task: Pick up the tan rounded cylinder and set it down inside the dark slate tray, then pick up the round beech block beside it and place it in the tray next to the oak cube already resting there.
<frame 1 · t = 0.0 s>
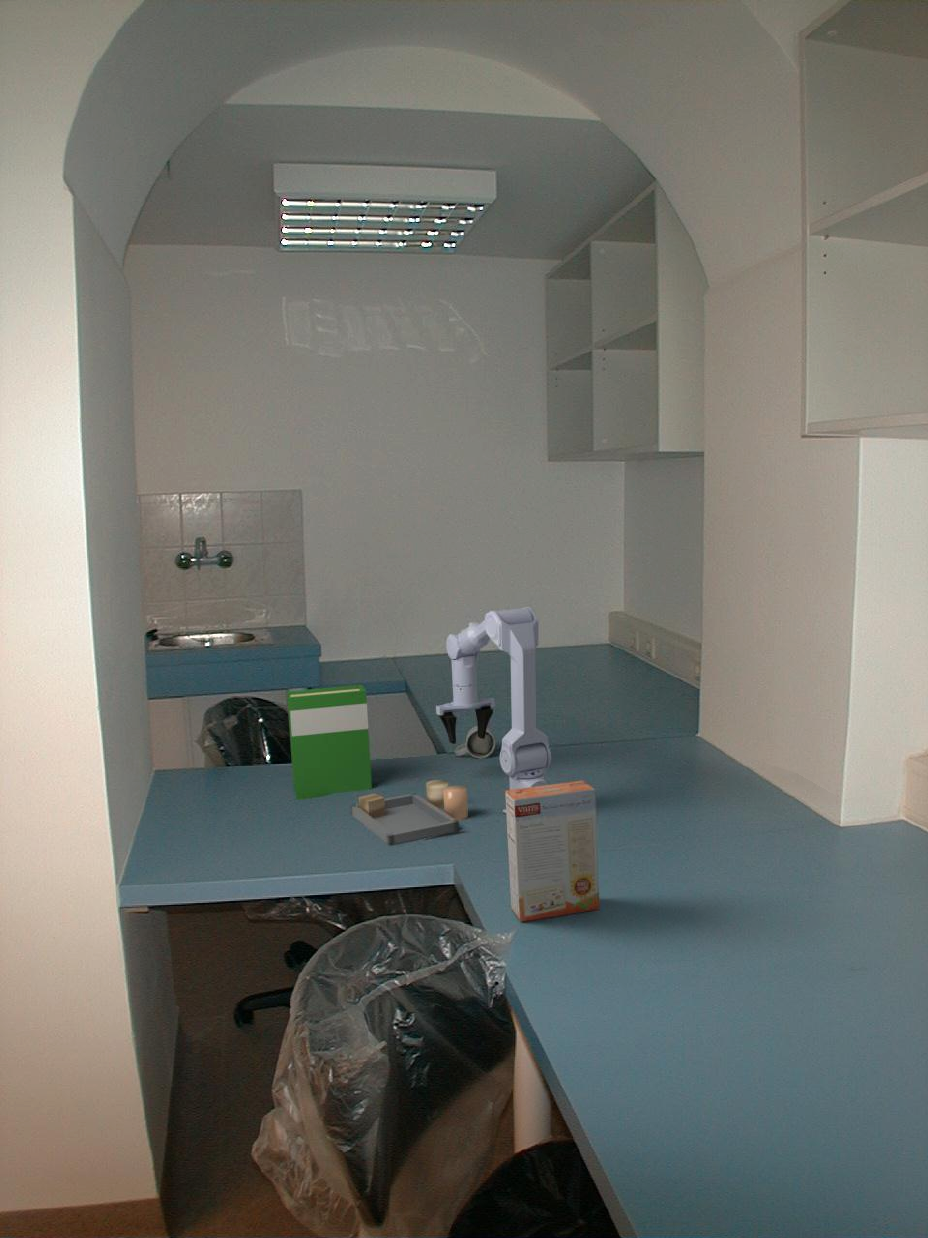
hand: (467, 740, 241), 10 cm above the worktop, fingers open, 7 cm apart
cracker box: (554, 911, 169), on the worktop
oak cube: (372, 815, 219), resting on tray
tan rounded cylinder: (456, 818, 216), on the worktop
hardback book: (332, 791, 240), on the worktop
ceramic mug: (475, 756, 265), on the worktop
tray: (403, 824, 214), on the worktop
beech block: (438, 807, 224), on the worktop
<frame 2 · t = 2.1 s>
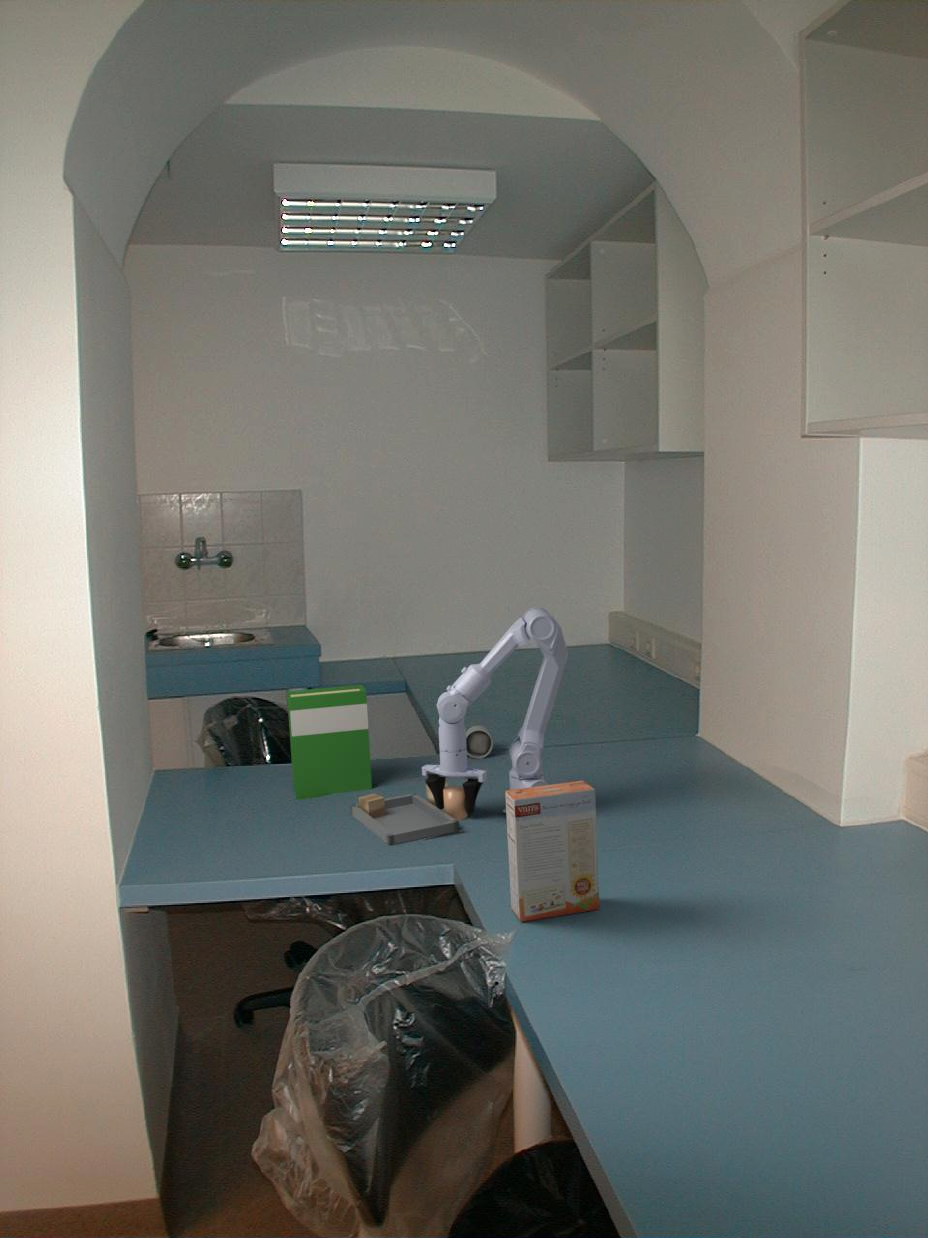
hand: (455, 810, 216), 2 cm above the worktop, fingers open, 6 cm apart
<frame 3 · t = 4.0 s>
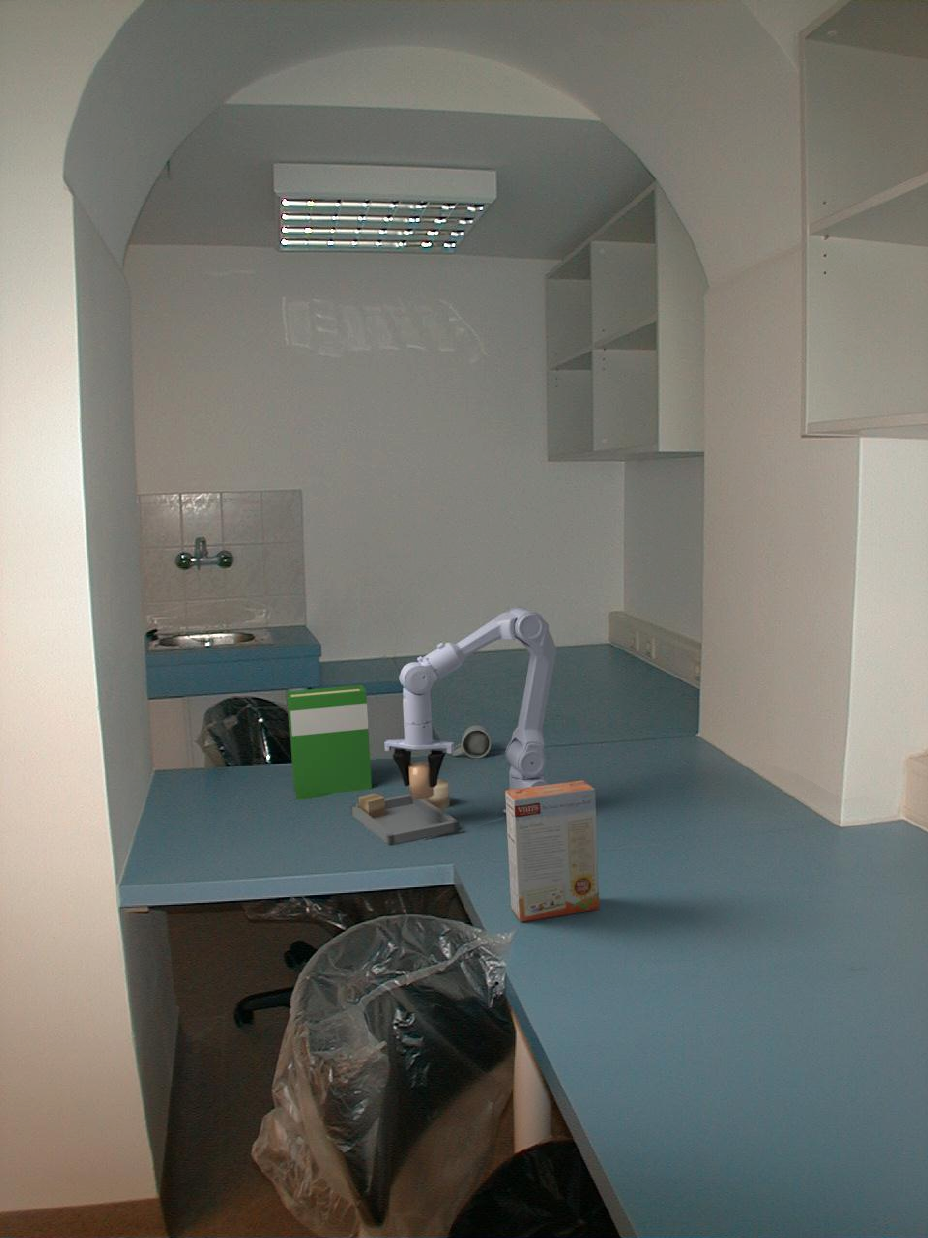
hand: (420, 785, 210), 9 cm above the worktop, fingers closed on tan rounded cylinder, 5 cm apart
tan rounded cylinder: (421, 795, 211), point 7 cm above the worktop, touching gripper
when the fingers open (4 cm above the worktop, at t = 5.8 s): tan rounded cylinder stays where it is, resting on tray.
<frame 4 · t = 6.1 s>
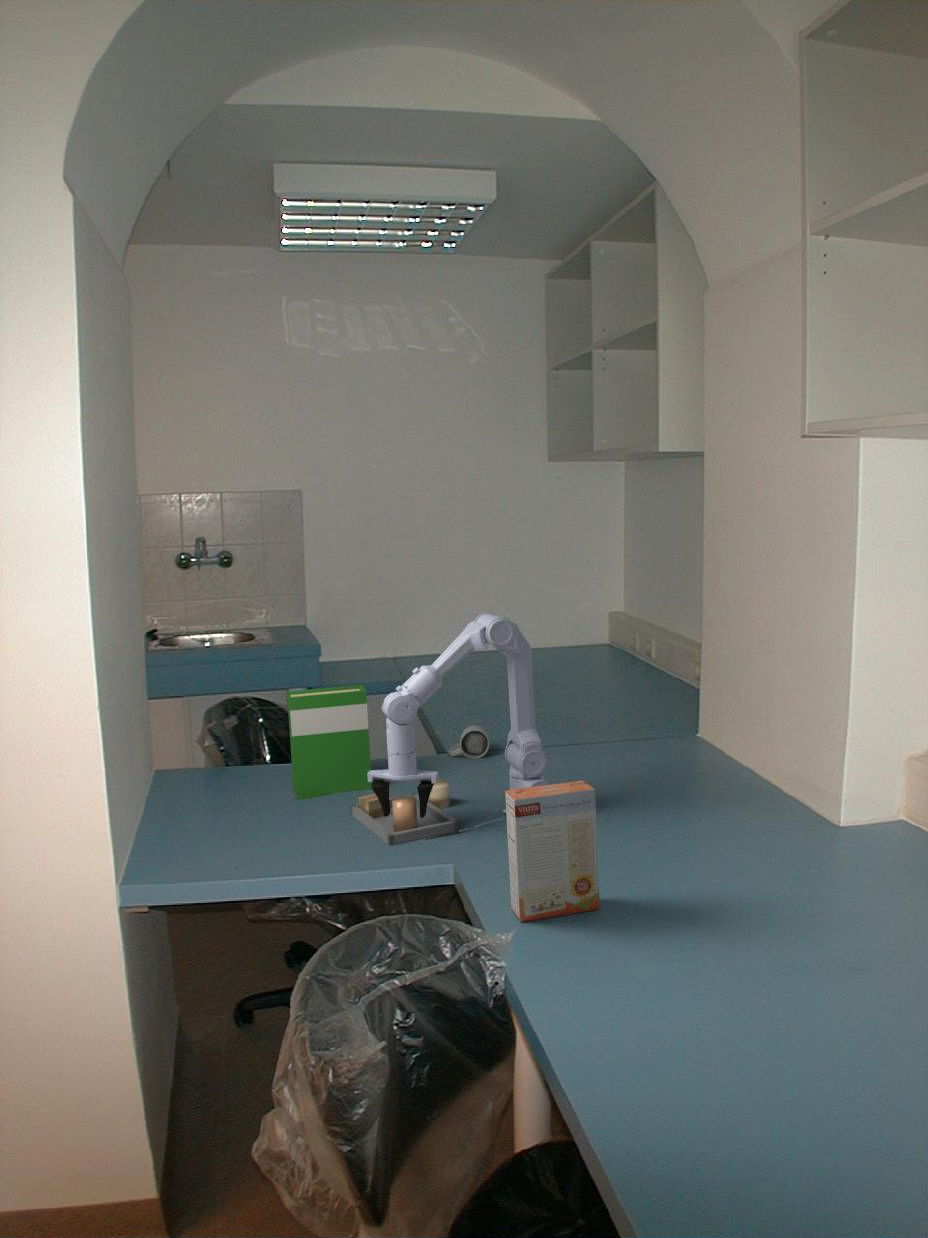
hand: (405, 815, 209), 4 cm above the worktop, fingers open, 7 cm apart
tan rounded cylinder: (405, 829, 209), point 1 cm above the worktop, touching tray
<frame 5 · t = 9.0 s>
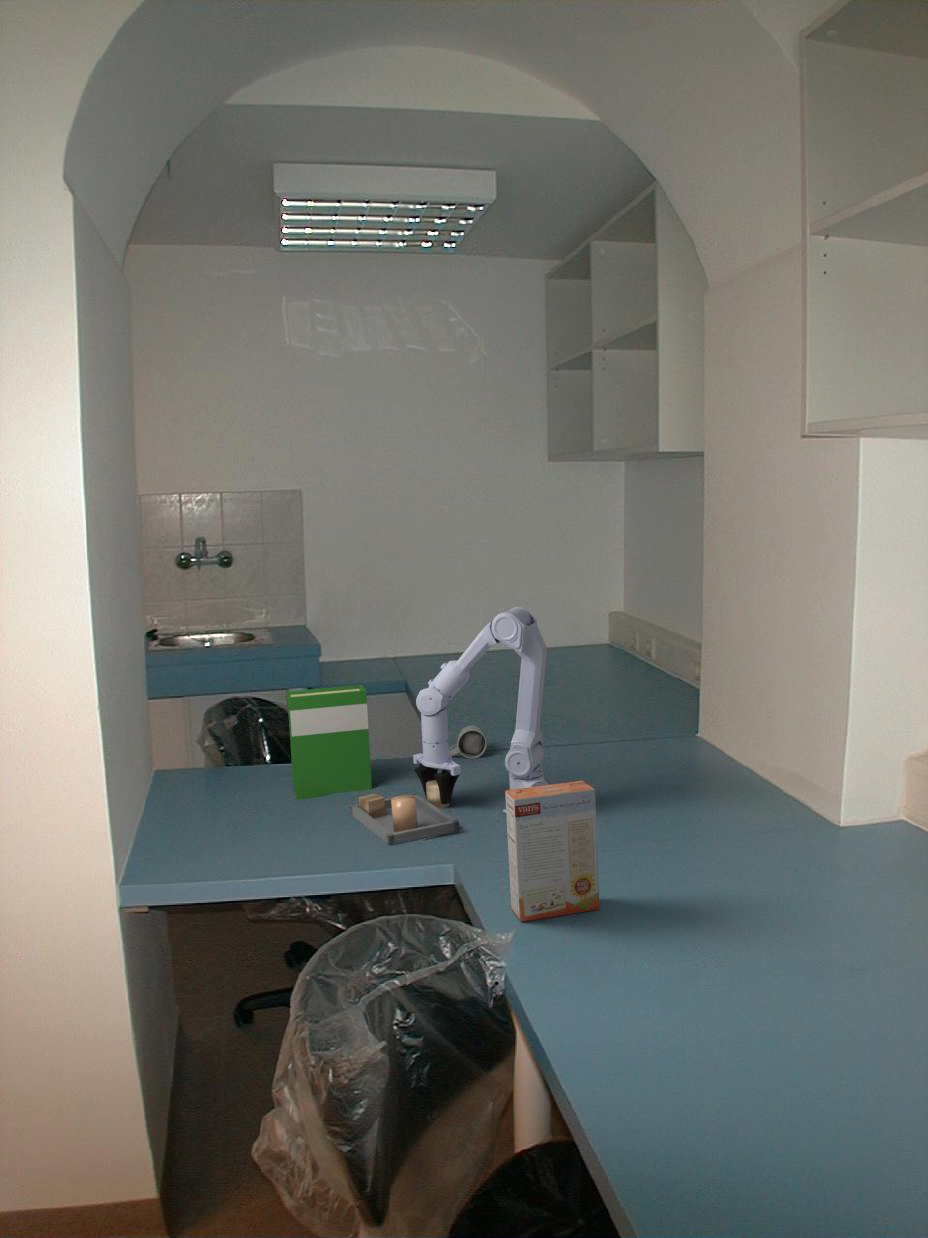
hand: (438, 800, 224), 2 cm above the worktop, fingers closed on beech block, 5 cm apart
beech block: (438, 807, 224), on the worktop, touching gripper
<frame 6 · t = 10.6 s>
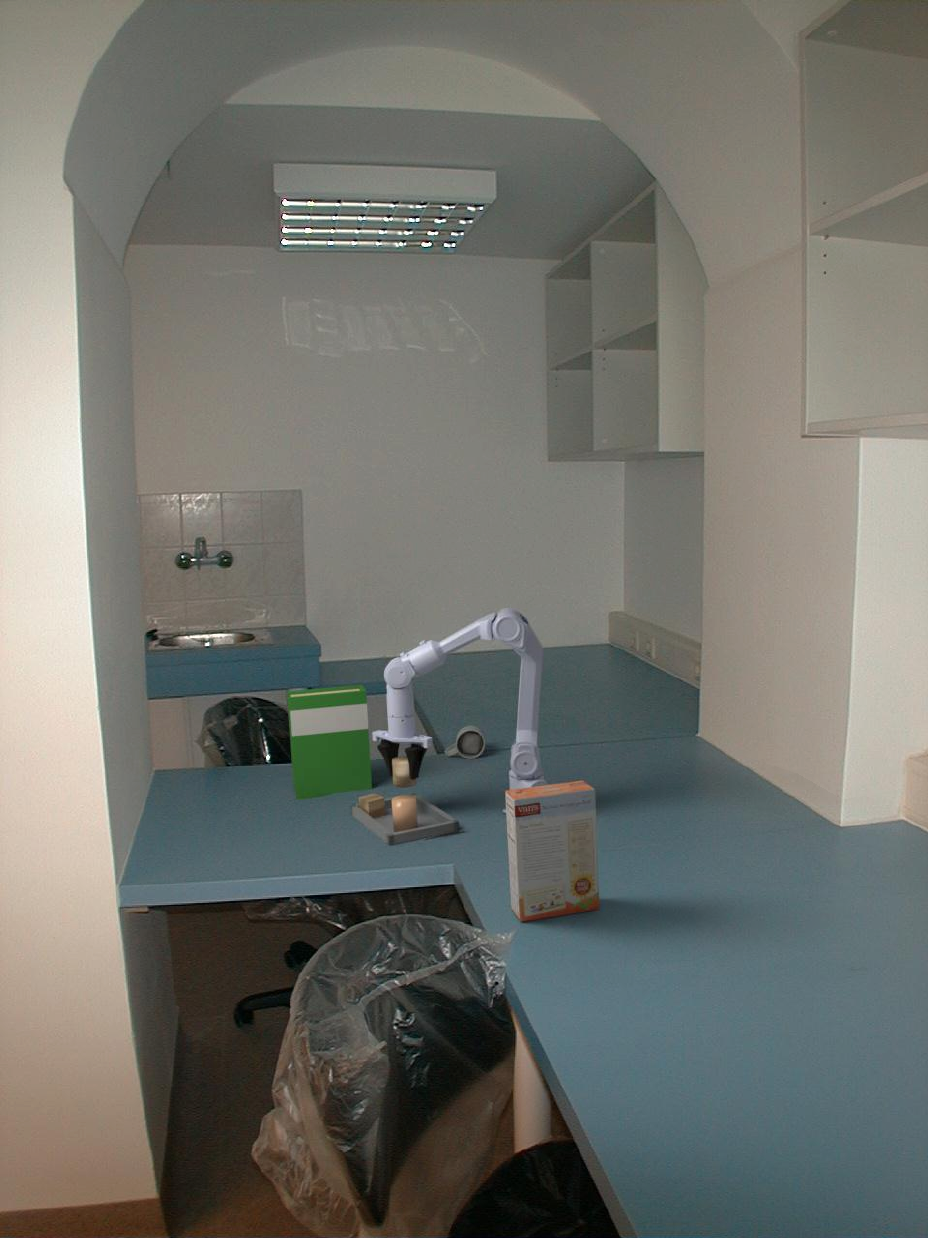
hand: (404, 776, 217), 9 cm above the worktop, fingers closed on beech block, 5 cm apart
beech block: (404, 784, 218), point 7 cm above the worktop, touching gripper
when the fingers open (3 cm above the worktop, at t = 12.2 s): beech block drops 1 cm, resting on tray.
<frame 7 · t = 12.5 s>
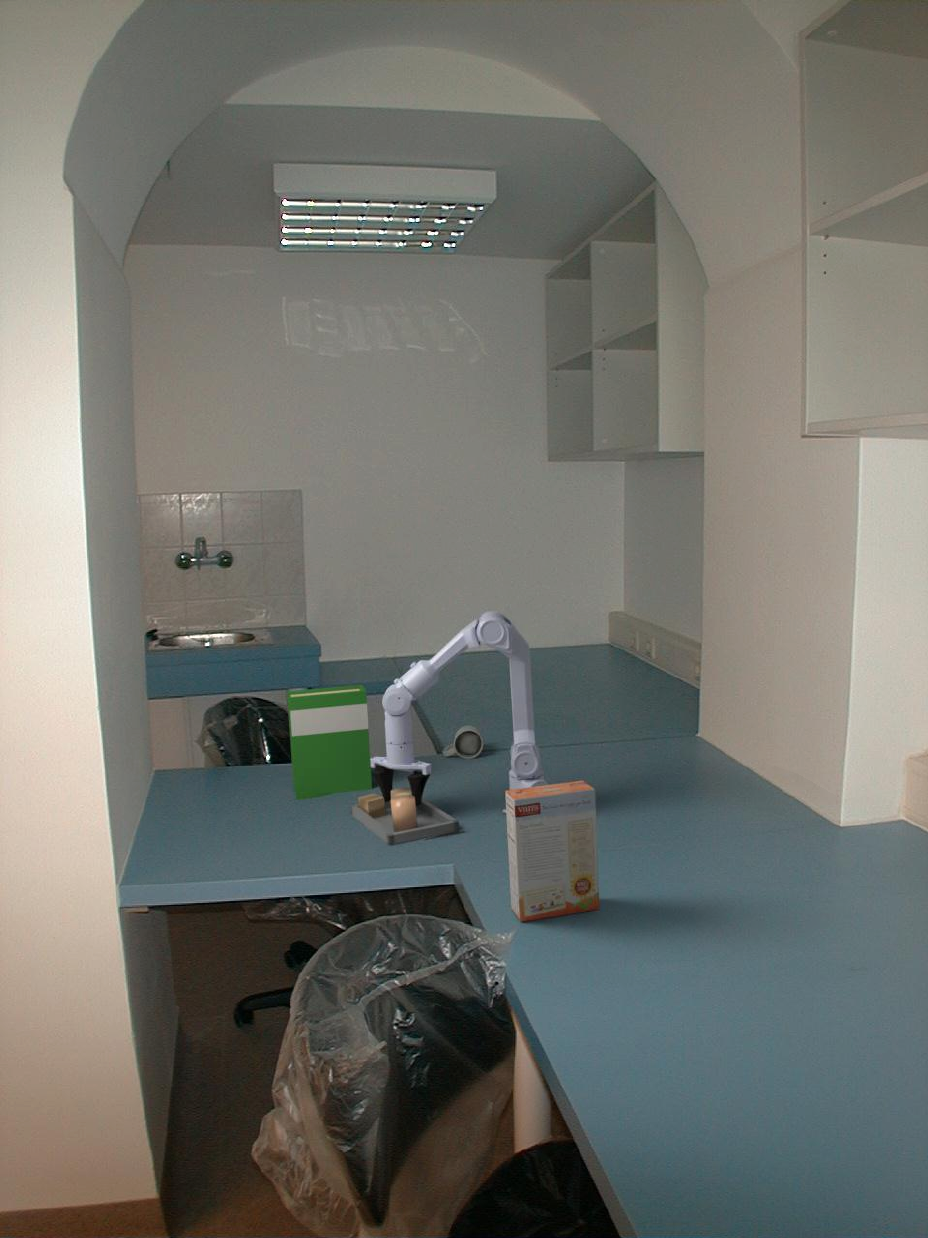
hand: (402, 803, 218), 3 cm above the worktop, fingers open, 7 cm apart
oak cube: (372, 815, 219), point 1 cm above the worktop, touching gripper, tray
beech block: (403, 815, 218), point 1 cm above the worktop, touching tray
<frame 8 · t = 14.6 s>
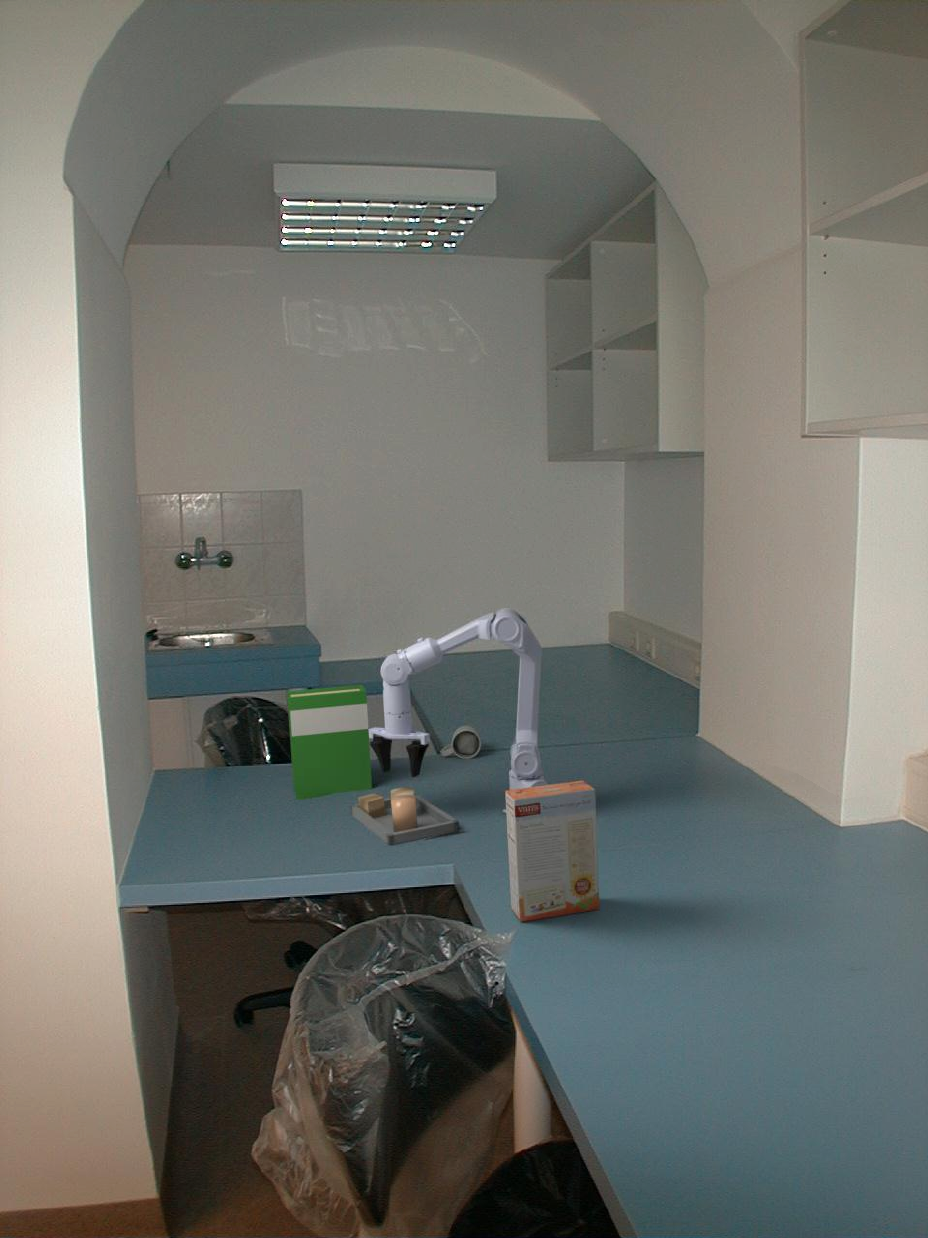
hand: (400, 773, 217), 10 cm above the worktop, fingers open, 7 cm apart
oak cube: (372, 815, 219), resting on tray
at the end: tan rounded cylinder inside the target area on the tray (4.9 cm from its centre), point 0.6 cm above the tray's base; tan rounded cylinder tilted 3°; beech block inside the target area on the tray (3.9 cm from its centre), point 0.5 cm above the tray's base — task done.
